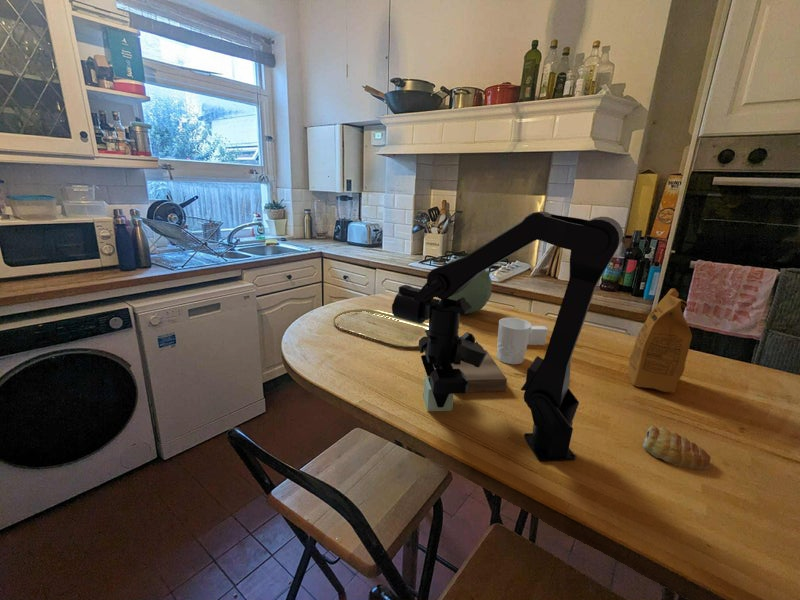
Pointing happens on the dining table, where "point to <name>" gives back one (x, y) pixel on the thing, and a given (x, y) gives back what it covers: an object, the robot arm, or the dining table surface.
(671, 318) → the coffee package
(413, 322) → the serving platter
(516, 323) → the white cup
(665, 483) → the dining table surface
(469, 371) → the walnut block
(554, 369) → the robot arm
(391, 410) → the dining table surface
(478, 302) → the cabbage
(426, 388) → the sage cube
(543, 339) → the napkin holder
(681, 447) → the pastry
